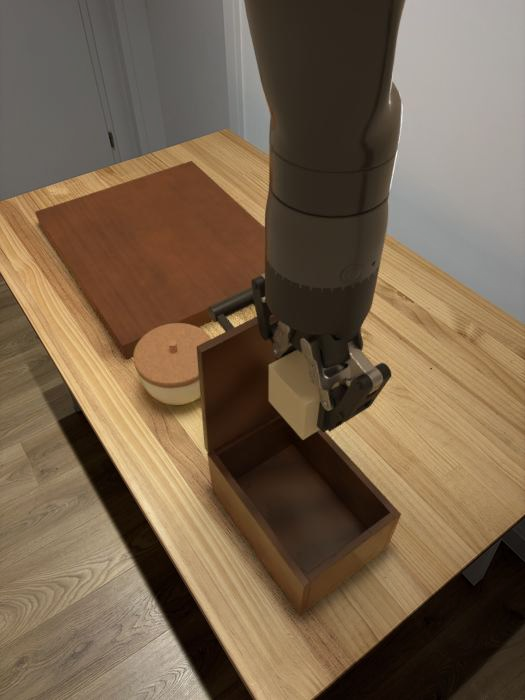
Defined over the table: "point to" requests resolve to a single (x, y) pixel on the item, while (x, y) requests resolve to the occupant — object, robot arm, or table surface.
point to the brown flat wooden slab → (156, 250)
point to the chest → (301, 507)
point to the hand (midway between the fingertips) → (308, 402)
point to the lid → (234, 374)
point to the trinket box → (170, 362)
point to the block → (295, 393)
